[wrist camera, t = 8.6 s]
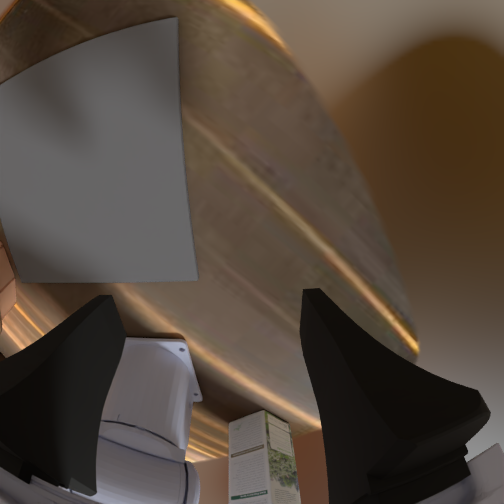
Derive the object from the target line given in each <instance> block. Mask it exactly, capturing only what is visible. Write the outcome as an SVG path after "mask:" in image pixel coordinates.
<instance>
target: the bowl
mask: <svg viewBox="0 0 504 504" xmlns="http://www.w3.org/2000/svg"><path fill="white" fill-rule="evenodd" d="M2 245H3V244H2V243H1V241H0V312H1V318H2V320H3V319H4V318H5V316H6V315H7V314H8V313H9V311H10V310H11V309H12V307H13V306H14V305H15V303H16V286H15V278H14V273H13V271H12V268H11V266H10V263H9V260H8V257H7V254H6V251H5V248H4V247H3V246H2Z"/></svg>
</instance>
